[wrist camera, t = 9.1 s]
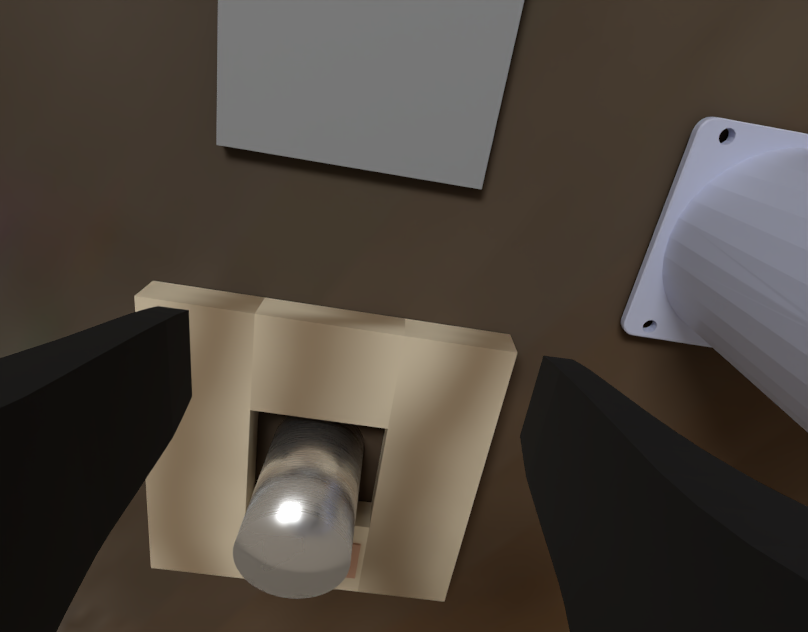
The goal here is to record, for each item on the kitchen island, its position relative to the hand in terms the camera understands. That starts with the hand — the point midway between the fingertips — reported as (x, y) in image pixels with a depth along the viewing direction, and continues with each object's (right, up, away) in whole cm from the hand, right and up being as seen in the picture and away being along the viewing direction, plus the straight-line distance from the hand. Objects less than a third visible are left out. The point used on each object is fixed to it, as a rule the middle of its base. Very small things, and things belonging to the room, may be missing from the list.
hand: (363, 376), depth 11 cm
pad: (0, +10, +5) cm, 12 cm away
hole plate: (-3, -5, +13) cm, 14 cm away
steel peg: (-3, -4, +12) cm, 14 cm away
